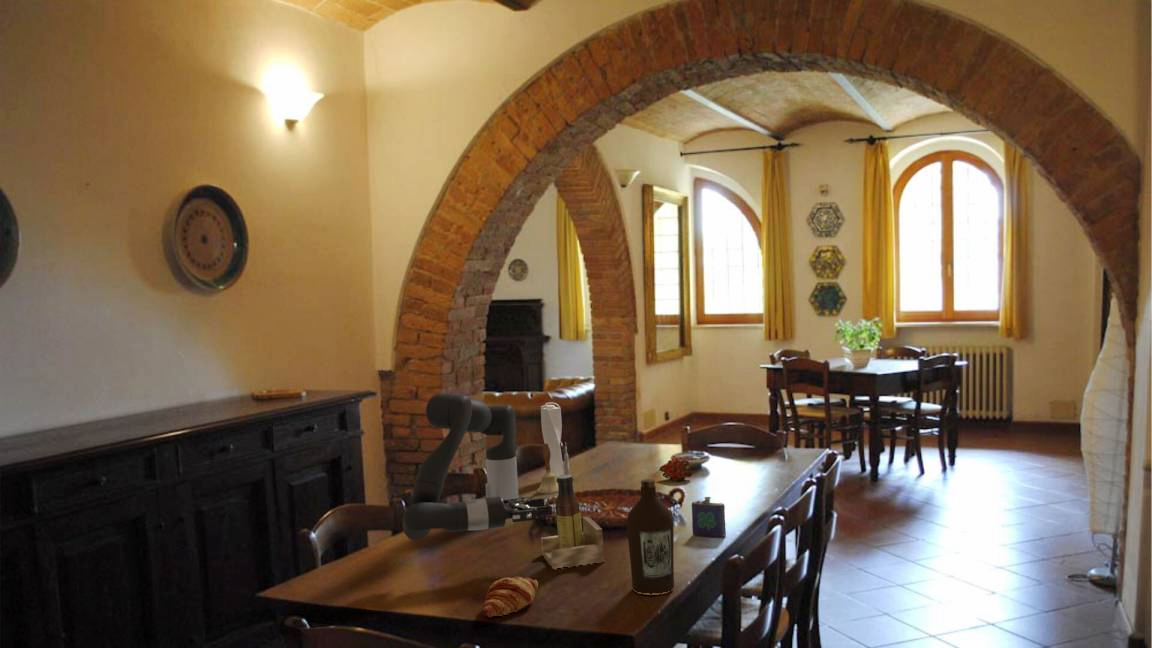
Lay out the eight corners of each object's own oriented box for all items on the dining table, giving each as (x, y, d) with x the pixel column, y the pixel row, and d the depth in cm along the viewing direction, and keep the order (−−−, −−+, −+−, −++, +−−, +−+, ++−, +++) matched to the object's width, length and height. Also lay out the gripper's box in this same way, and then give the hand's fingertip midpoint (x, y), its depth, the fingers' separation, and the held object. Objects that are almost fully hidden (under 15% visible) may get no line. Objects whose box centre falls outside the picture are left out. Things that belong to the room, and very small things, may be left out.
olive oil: (624, 584, 214) (618, 478, 213) (668, 578, 216) (662, 473, 215) (637, 600, 204) (631, 488, 202) (683, 593, 206) (677, 483, 205)
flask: (727, 536, 248) (725, 496, 247) (723, 539, 245) (721, 499, 245) (694, 533, 252) (692, 494, 251) (690, 536, 249) (688, 497, 249)
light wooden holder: (553, 569, 228) (551, 535, 227) (541, 554, 240) (540, 522, 240) (604, 562, 231) (602, 529, 231) (590, 548, 244) (588, 516, 243)
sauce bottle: (579, 547, 240) (574, 471, 239) (587, 554, 234) (582, 476, 233) (555, 551, 238) (550, 475, 237) (562, 558, 232) (557, 479, 231)
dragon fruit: (695, 486, 312) (662, 489, 317) (698, 467, 318) (665, 470, 323) (687, 469, 307) (654, 473, 312) (690, 450, 314) (657, 454, 318)
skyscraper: (562, 482, 321) (558, 402, 319) (540, 482, 323) (536, 403, 322) (570, 477, 329) (566, 399, 327) (549, 476, 331) (544, 399, 330)
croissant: (526, 603, 215) (510, 572, 217) (558, 587, 211) (543, 555, 213) (475, 635, 197) (459, 601, 198) (510, 619, 192) (493, 583, 194)
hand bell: (543, 494, 305) (540, 447, 304) (533, 490, 312) (530, 443, 311) (566, 490, 309) (563, 443, 308) (555, 486, 316) (552, 440, 315)
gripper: (488, 505, 222) (553, 497, 226) (478, 492, 236) (540, 485, 240) (490, 536, 223) (555, 527, 227) (480, 521, 236) (542, 514, 240)
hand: (547, 506), depth 233 cm, fingers open, 8 cm apart
